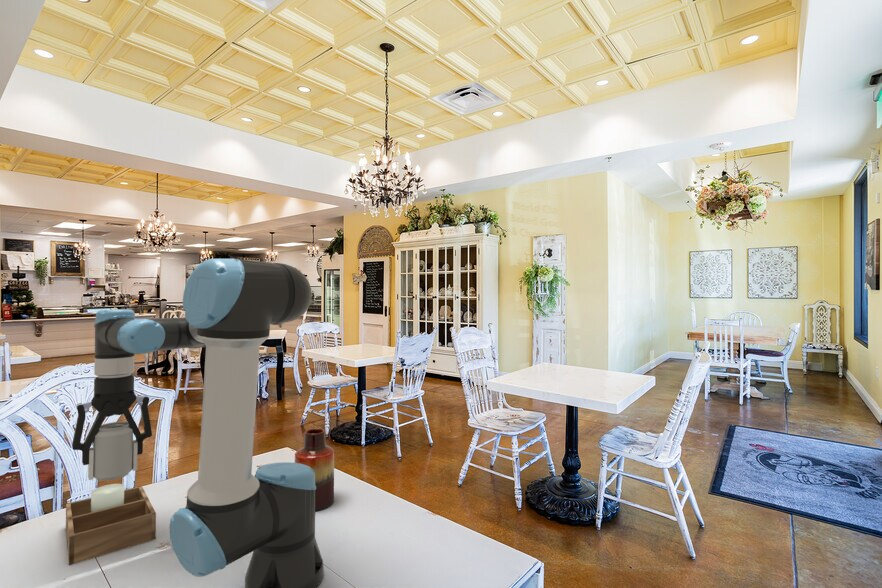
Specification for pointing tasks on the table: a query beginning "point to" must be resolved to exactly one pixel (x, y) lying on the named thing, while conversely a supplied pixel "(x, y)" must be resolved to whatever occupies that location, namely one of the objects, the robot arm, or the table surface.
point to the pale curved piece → (107, 497)
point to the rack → (109, 526)
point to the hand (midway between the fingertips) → (113, 473)
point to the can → (113, 451)
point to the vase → (319, 466)
